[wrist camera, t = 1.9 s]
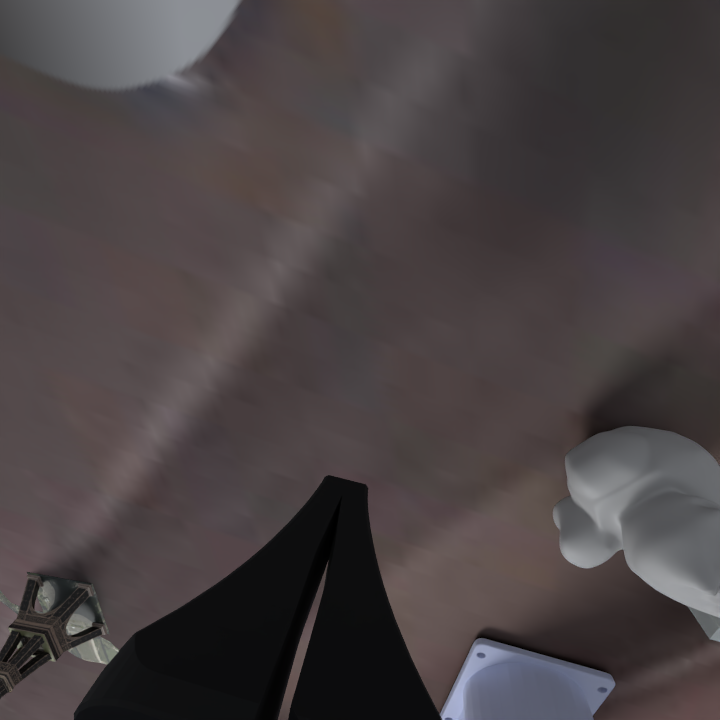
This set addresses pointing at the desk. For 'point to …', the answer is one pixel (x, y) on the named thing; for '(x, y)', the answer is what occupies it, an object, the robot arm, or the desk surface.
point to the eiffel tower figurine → (53, 628)
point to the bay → (708, 623)
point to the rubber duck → (646, 511)
